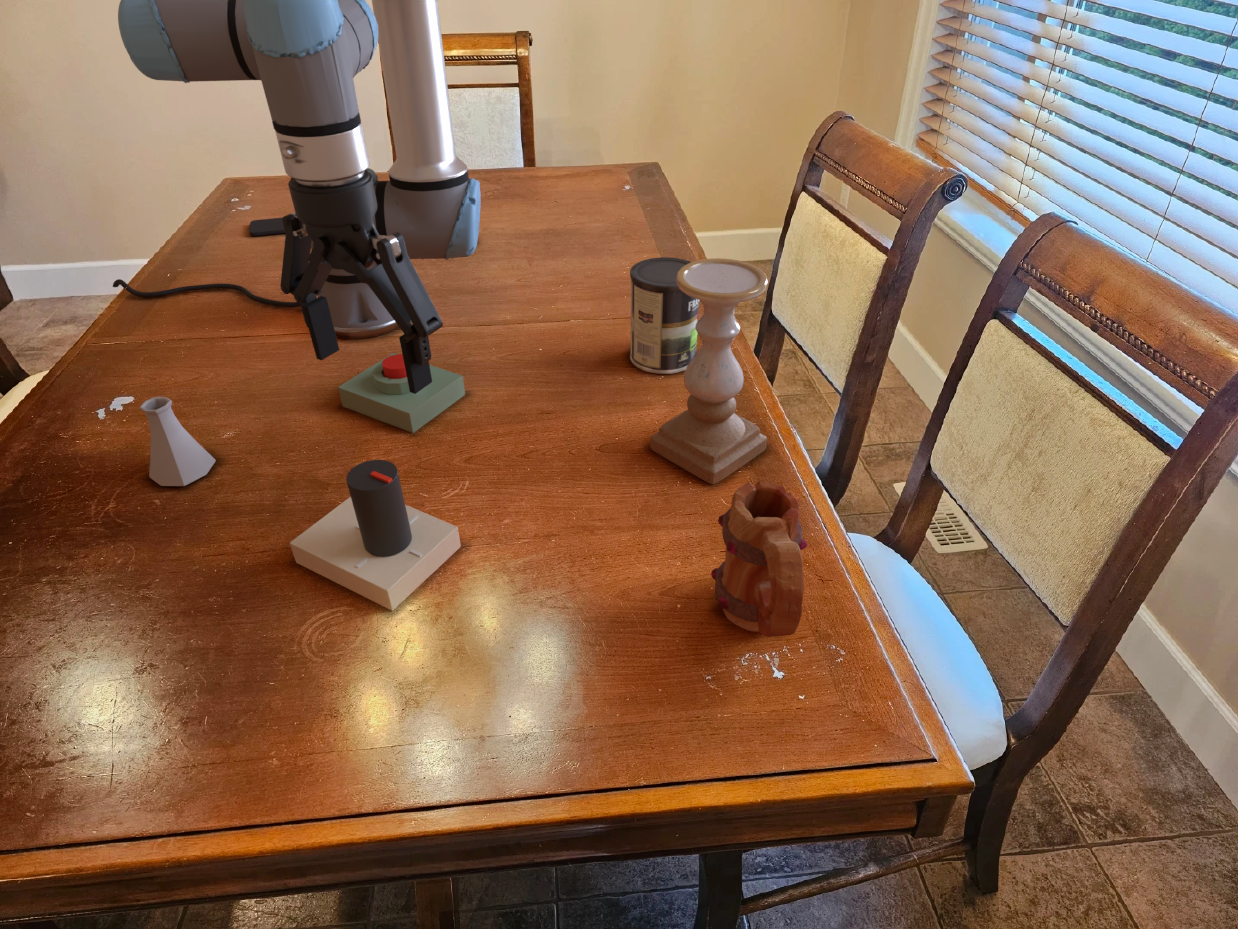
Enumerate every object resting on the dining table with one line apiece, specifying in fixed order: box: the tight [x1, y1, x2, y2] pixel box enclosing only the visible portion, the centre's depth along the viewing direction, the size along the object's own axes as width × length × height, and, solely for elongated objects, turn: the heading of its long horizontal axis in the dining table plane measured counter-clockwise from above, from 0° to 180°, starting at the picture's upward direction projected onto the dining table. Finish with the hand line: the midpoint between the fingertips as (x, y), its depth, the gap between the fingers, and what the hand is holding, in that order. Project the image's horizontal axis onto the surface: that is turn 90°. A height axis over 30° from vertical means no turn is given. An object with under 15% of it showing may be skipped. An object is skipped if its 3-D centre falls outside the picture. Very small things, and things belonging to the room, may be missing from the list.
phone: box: [248, 217, 285, 237], centre depth 164 cm, size 7×1×15 cm
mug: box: [710, 480, 808, 638], centre depth 75 cm, size 15×8×15 cm, turn 5°
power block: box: [337, 352, 466, 434], centre depth 111 cm, size 13×11×5 cm
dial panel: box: [289, 496, 462, 612], centre depth 87 cm, size 14×11×3 cm
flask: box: [139, 396, 217, 487], centre depth 97 cm, size 7×7×10 cm
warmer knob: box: [345, 459, 412, 557], centre depth 82 cm, size 5×5×9 cm
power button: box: [382, 353, 407, 379], centre depth 109 cm, size 4×4×2 cm
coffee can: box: [629, 256, 701, 375], centre depth 117 cm, size 10×10×14 cm
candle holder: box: [649, 257, 769, 485], centre depth 96 cm, size 11×11×24 cm
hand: (373, 370), depth 87 cm, fingers open, 13 cm apart
